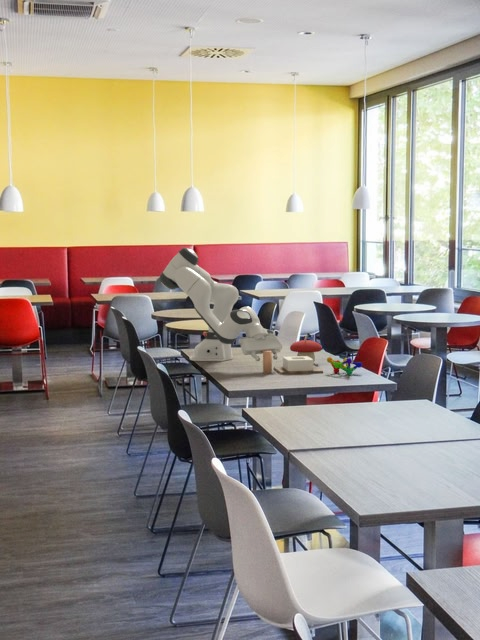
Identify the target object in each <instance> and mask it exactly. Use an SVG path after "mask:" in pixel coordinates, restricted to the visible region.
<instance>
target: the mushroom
mask: <svg viewBox="0 0 480 640" xmlns="http://www.w3.org/2000/svg"><path fill="white" fill-rule="evenodd" d="M308 337H309V338H311V337H312V334H310V333H309V332H307V333H306V335H305V337H304V340H297V341H295V342H293V343H292V344H290V347H289V349H290V351H291V352H295V353H297V356H308V357H310V358H312V359H313V360H314V362H315V360H316V357H315V353H318V352H322V349H323V347H322V345H321V344H320V343H319V342H317V341H313V340H310V339H309V340H307V339H308Z"/></svg>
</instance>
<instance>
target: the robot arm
mask: <svg viewBox="0 0 480 640" xmlns="http://www.w3.org/2000/svg"><path fill="white" fill-rule="evenodd" d="M198 262H199V256H198V255H197V253H196V252H195V250H193V249H191V248H188V247H183V248H181V249H180V250H179V251H178V253H176V254H175V255H174V256H173V258H172V259H171V260H170V261H169V262H168V264H167V265H166V267H164V270H163V271H162V272H161V273H160V275H159V281H160V283H161V284H162V286H163V287H164V288H166V289H169V290H171V291H173V290H176V289H179V288H180V289H181V290H182V291H183V292H184V293H185V294H186V295H187V297H189V298H190V300H191V301H192V303H193V307H194V310H195V312H196V313H197V314H198V315H199V317H200V318H201V319H202V321H204V323H205V324H206V325H207V326H208V331H203V333H202V335H203V336H204V339H203V340H202V341H201V342H199V343H198V344H197V345H195V347H194V350H193V355H190V356H189V360H190V361H193V362H225V361H229V360H233V359H234V356H233V352H232V345H233V344H235V342H236V341H237V339H238V343H239V345H240V348H241V352H242V354H243V355H245V356H247V355H248V356H251V357H252V358H253V359H255V362H260V360H261V358H260V356H259V354H260V355H261V354H262V355H263V351H272V359H273V360H274V361H275V360H277V359H279V358H278V357H279V356H278V353H280V352H281V351H282V350H283V344H282V342H281V341H280V338H279V337H278V336H277V335H276V332H275V331H274V330H272V329H271V330H270V329H267V328H264V326H262V324H261V322H260V318H259V317H258V314H257V313H256V311H255V310H254V309H253V308H252V307H250V306H243V307H241V308H239V309H233V308H234V305H235V304H236V303H237V301H238V300H239V296H240V295H239V294H240V293H239V290H238V289H237V287H236V286H235V285H232V284H229V283H219V282H217V281H215V280H214V279H213V278H212V277H211V274H210V273H209V272H208V271H207V270H205V269H204V268H202V267H201V266H199V265H198ZM210 305H213V308H212V310H211V307H210ZM242 332H244V334H245V337H244V336H241V337H240V338H239V335H240V334H241V333H242Z"/></svg>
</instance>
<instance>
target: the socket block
mask: <svg viewBox="0 0 480 640" xmlns="http://www.w3.org/2000/svg"><path fill="white" fill-rule="evenodd" d="M314 363H315V361H314V360H313V359H312V358H310V357H308V356H282V367H283V368H285V369H286V370H287V371H311V370H314V366H315V364H314Z"/></svg>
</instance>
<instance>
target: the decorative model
mask: <svg viewBox="0 0 480 640" xmlns="http://www.w3.org/2000/svg"><path fill="white" fill-rule="evenodd" d="M326 362H327V363H330V365H331V366H332V368H333V373H335V374H338V373H339V372H340V369H341V370H343V371H344V372H346V375H348V376H351V375H352V374H353V372H354V371H355V370H356V369H359V368H362V367H363V363H362V362H360V361H358V362H355V361H353V359H352V358H350V357H348V358H347V357H345V358H343V359H342V361H340V360H338V359H337V360H334V359H333V358H332V357H330V356H328V357H327V358H326ZM351 365H354V366H352V367H351Z"/></svg>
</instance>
